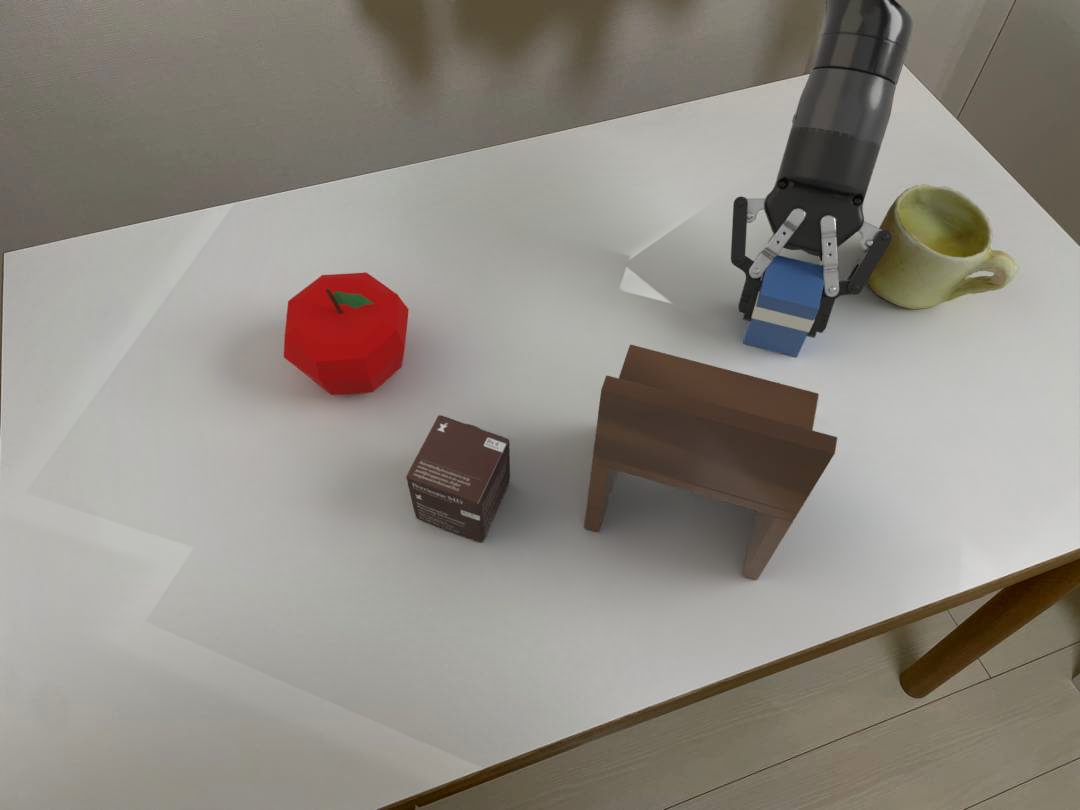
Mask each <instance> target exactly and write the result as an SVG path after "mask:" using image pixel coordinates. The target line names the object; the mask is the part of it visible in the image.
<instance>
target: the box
mask: <svg viewBox="0 0 1080 810" xmlns="http://www.w3.org/2000/svg"><path fill="white" fill-rule="evenodd" d="M510 442H511V441H510V438H508V437H505V436H502V435H499V434H496V433H494V432H490V431H487V430H484V429H482V428H480V427H478V426H476V425H473V424H470V423H464V422H461V421H459V420H456V419H453V418H450V417H447V416H444V415H441V414H438V415H437V417H436V419H435V421H434V422H433V425H432V427H431V428H430V431H429V432H428V434H427V436H426V438H425V440H424V442H423V444H422V445H421V447H420V449H419V451H418V453H417V455H416V456H415V458H414V460H413V462H412V464H411V466H410V468H409V469H408V472H407V473H406V475H405V479H406V481H407V488H408V490H409V494H410V499H411V503H412V507H413V512H414V515H415V519H416V520H419V521H421V522H423V523H425V524H428V525H430V526H434V527H436V528H439V529H441V530H443V531H446V532H449V533H452V534H454V535H457V536H459V537H463V538H464V539H468V540H471V541H474V542H475V543H476V542H477V543H478V544H479V543H482V544H483V542H484V541H485V539H486V537H487V535H488V533H489V530H490V528H491V525H492V523H493V521H494V519H495V517H496V514H497V512H498V510H499V508H500V506H501V503H502V501H503V499H504V497H505V494H506V492H507V491H508V488H509V485H510V483H511V461H510V459H511V458H510V457H511V456H510V455H511V454H510V451H511V450H510V446H511V445H510Z"/></svg>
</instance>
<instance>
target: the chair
mask: <svg viewBox="0 0 1080 810" xmlns="http://www.w3.org/2000/svg"><path fill="white" fill-rule="evenodd" d="M819 396H820V394H819V392H816V391H815V392H814V391H811V390H807V389H803V388H799V387H795V386H791V385H787V384H785V383H784V384H783V383H780V382H776V381H772V380H768V379H764V378H762V377H757V376H753V375H749V374H745V373H741V372H739V371H734V370H730V369H727V368H723V367H718V366H716V365H711V364H708V363H707V364H706V363H703V362H699V361H696V360H692V359H689V358H685V357H680V356H676V355H672V354H668V353H665V352H661V351H657V350H654V349H649V348H646V347H642V346H639V345H634V344H629V346H628V349H627V352H626V355H625V358H624V361H623V363H622V366H621V370H620V373H619V376H618V377H614V376H611V375H605V378H604V381H603V384H602V386H601V388H600V397H599V404H598V413H597V419H596V427H595V437H594V443H593V452H592V460H591V468H590V477H589V484H588V492H587V501H586V509H585V516H584V524H583V529H584V530H587V531H590V532H594V533H599V532H600V528H601V525H602V521H603V518H604V516H605V512H606V509H607V506H608V504H609V503H608V502H609V500H610V496H611V493H612V490H613V486H614V483H615V481H616V477H617V474H618V472H621V473H624V474H627V475H630V476H633V477H634V476H635V477H638V478H641V479H645V480H648V481H653V482H655V483H658V484H662V485H665V486H669V487H673V488H677V489H680V490H682V491H683V490H684V491H686V492H690V493H694V494H697V495H699V496H700V495H701V496H703V497H708V498H711V499H715V500H718V501H722V502H725V503H728V504H732V505H736V506H738V507H743V508H746V509H748V510H749V509H750V510H754V516H753V520H752V525H751V530H750V535H749V540H748V544H747V550H746V555H745V558H744V559H745V560H744V563H743V565H744V566H743V569H742V573H741V576H742V577H744V578H747V579H749V580H753V581H758V580H759V578H760V577H761V575H762V573H763V572H764V570H765V568H766V567H767V565H768V564H769V562H770V560H771V558H772V557H773V555H774V553H775V552H776V550H777V549H778V547H779V546H780V544H781V542H782V541H783V539H784V537H785V535H786V534H787V532H788V531H789V529H790V527H791V526H792V524H793V522H794V521H795V519H796V518H797V516H798V514H799V513H800V511H801V510H802V508H803V506H804V504H805V503H806V501H807V500H808V498H809V497H810V495H811V493H812V492H813V490H814V488H815V487H816V485H817V483H818V482H819V480H820V479H821V477H822V475H823V474H824V472H825V470H826V468H827V467H828V466H829V464H830V462H831V460H832V459H833V458H834V456H835V454H836V448H837V444H838V443H837V442H838V436H835V435H831V434H827V433H824V432H820V431H817V430H814V425H815V419H816V413H817V408H818V401H819Z"/></svg>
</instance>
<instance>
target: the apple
mask: <svg viewBox="0 0 1080 810" xmlns="http://www.w3.org/2000/svg"><path fill="white" fill-rule="evenodd" d="M409 313H410V312H409V308H408V307H407V305H406V303H404V301H403V300H402V298H401V297H400V296H399V294H398V293H397V292H395V291H394V290H392V289H390V288H389V287H388V286H386V285H385V284H383V283H382V282H381V281H380V280H378V279H377V278H375V277H374V276H373V275H371V274H369V273H368V272H366V271H365V272H353V273H349V272H348V273H334V274H322V275H320V276H319V277H317V278H316V279H315V280H314V281H312V282H311V283H310V284H309V285H307V286H306V287H305V288H303V289H302V290H301V291H299V292H298V293H296V294H295V295H294V296H292V298H289V300H287V309H286V319H285V327H284V328H285V329H284V339H283V342H284V343H283V359H285V360H286V361H288V362H289V363H290V364H292V366H294V367H295V368H297V369H298V370H299V371H301V372H302V373H303V374H304V375H305V376H307V377H308V378H309V379H310V380H312V381H313V382H314V383H316V384H317V385H318V386H319V387H321V388H322V389H323V390H324V391H325V392H327V393H328V394H329V395H330V396H338V395H357V394H371V393H374V392H375V391H376V390H377V389H378V388H380V387H381V386H382V385H383V384H384V383H385V382H386V381H388V380H389V379H390V378H391V377H392V376H393V375H394V374H396V373H397V372H398V371H399V370H400V369H401V368H402V367H403V361H404V355H405V350H406V349H405V348H406V339H407V329H408V321H409Z"/></svg>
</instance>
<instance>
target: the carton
mask: <svg viewBox="0 0 1080 810" xmlns="http://www.w3.org/2000/svg"><path fill="white" fill-rule="evenodd" d="M761 281H762V285H761V288H760V291H759V293H758V296H757V300H756V303H755V306H754V310H753V313H752V319H751V322H749V321H747V325H746V328H745V333H744V337H743V341H742V344H743V345H747V346H750V347H755V348H759V349H763V350H766V351H771V352H774V353H778V354H782V355H786V356H790V357H794V358H798V356H799V354H800V352H801V349H802V347H803V345H804V343H805V341H806V338H807V337H808V336H807V334H808V332H809V331H810V329H811V327H812V325H813V323H814V319H815V317H816V314H817V312H818V310H819V306H820V301H821V295H822V290H823V284H824V278H823V271H822V266H821V265H819V264H817V263H814V262H813V263H812V262H808V261H803V260H800V259H797V258H792V257H787V256H784V255H779V254H778V255H777V256H776V257H775V258H774V260H773V261H772V262H771V264H770V265H769V266H768V267H767V268H766V270H765V272H764V273H763V274H762V277H761Z"/></svg>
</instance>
